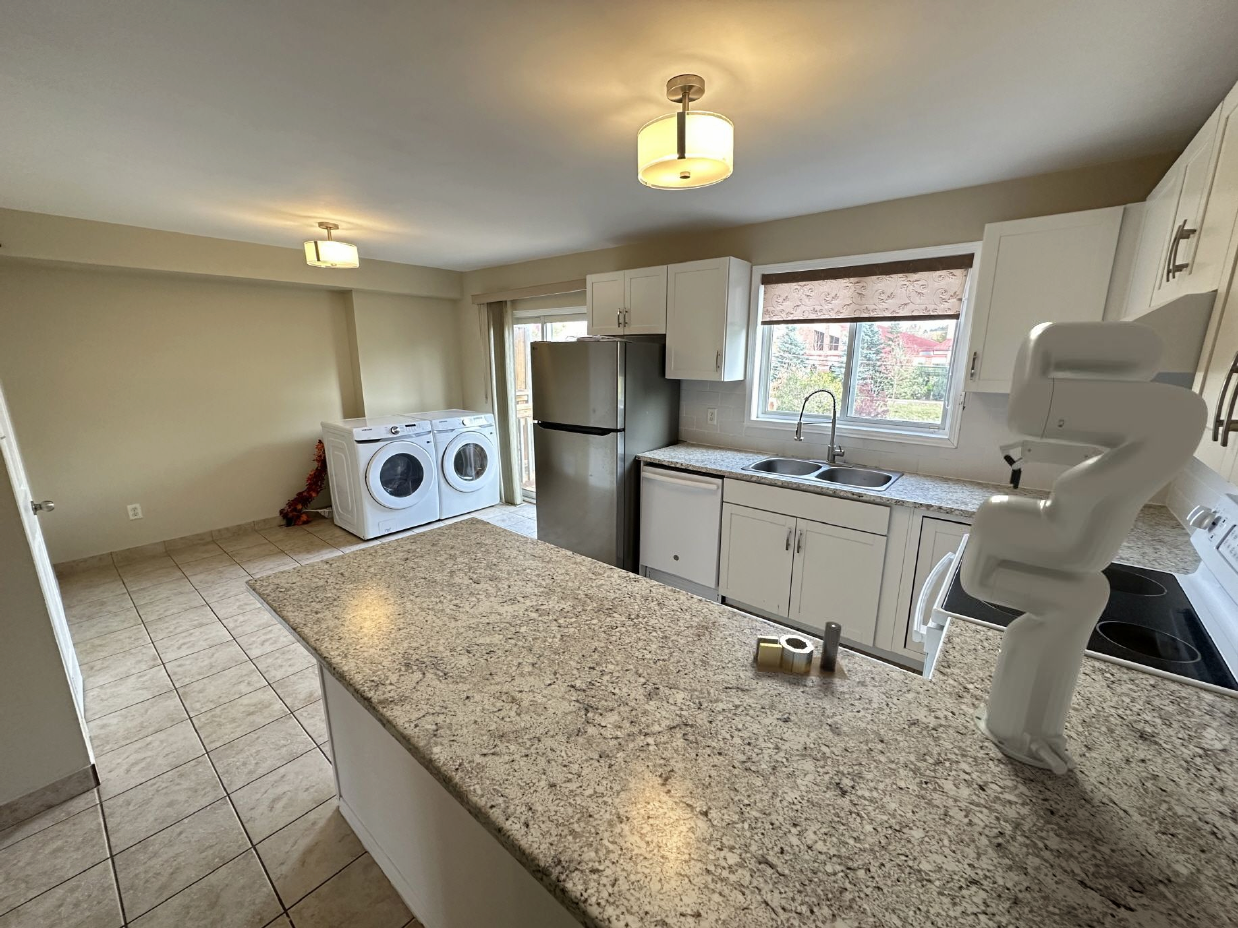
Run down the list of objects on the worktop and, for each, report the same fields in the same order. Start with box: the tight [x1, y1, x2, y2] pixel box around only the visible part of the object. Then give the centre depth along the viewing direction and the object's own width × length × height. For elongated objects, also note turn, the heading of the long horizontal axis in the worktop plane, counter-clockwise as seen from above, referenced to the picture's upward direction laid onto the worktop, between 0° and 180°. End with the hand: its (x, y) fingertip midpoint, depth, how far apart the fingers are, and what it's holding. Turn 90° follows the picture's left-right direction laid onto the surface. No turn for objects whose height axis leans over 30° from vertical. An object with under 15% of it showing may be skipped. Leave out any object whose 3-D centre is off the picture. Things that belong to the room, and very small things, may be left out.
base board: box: [751, 650, 850, 680], centre depth 94 cm, size 7×17×1 cm, turn 85°
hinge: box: [754, 634, 815, 674], centre depth 94 cm, size 6×10×4 cm, turn 85°
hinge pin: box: [820, 621, 843, 672], centre depth 93 cm, size 3×3×9 cm
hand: (1045, 492), depth 96 cm, fingers open, 9 cm apart
